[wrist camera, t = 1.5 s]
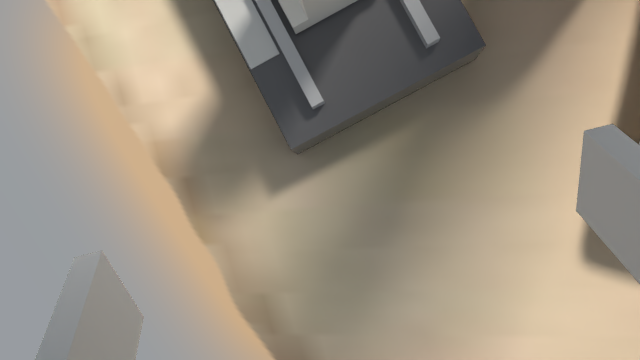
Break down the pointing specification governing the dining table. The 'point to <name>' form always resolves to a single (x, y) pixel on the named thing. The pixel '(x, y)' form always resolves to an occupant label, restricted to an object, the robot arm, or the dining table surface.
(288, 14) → the tab
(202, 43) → the dining table surface
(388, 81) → the switch board
